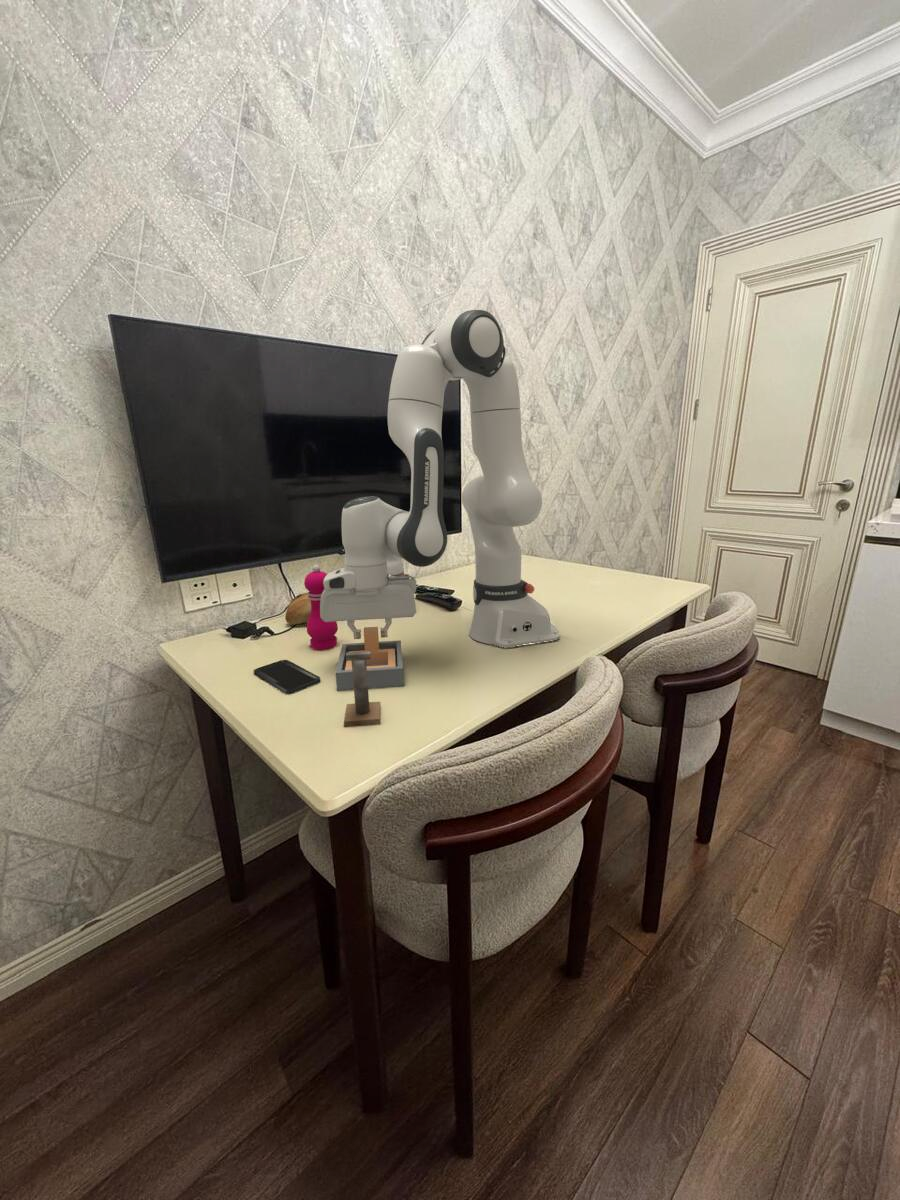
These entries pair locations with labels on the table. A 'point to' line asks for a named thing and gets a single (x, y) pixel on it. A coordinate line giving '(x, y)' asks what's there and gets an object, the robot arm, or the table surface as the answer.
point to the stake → (361, 694)
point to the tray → (374, 675)
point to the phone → (287, 676)
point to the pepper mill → (316, 626)
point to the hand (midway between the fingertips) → (370, 637)
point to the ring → (375, 650)
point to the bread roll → (299, 610)
